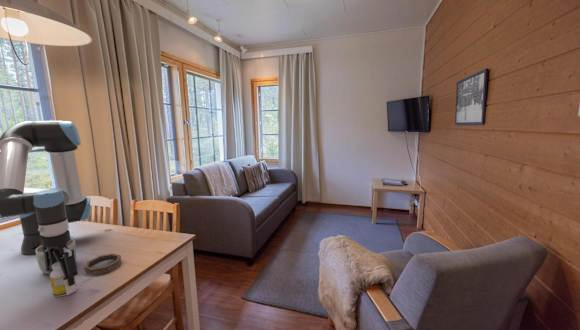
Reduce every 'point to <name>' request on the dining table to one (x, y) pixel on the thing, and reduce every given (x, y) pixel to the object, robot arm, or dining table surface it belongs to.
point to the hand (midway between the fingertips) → (65, 290)
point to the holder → (102, 264)
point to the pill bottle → (58, 280)
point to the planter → (70, 246)
